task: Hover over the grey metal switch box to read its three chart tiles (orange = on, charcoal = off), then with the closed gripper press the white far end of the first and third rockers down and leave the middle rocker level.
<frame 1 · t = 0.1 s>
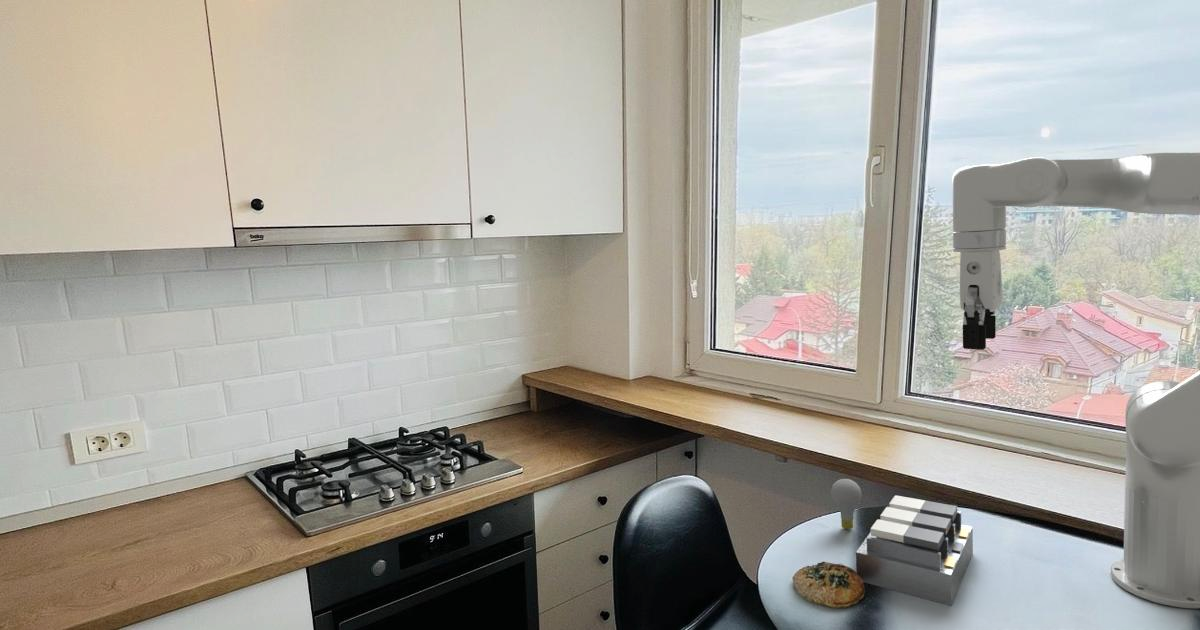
hand: (979, 343, 109), 37 cm above the table, tool pointing down, fingers open, 9 cm apart
rocker b: (915, 520, 108), point 8 cm above the table, hinge at 0.0°
rocker c: (906, 534, 104), point 8 cm above the table, hinge at 0.0°
switch box: (916, 566, 109), on the table
rocker a: (922, 508, 112), point 8 cm above the table, hinge at 0.0°
light bulb: (847, 530, 124), on the table
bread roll: (828, 593, 105), on the table
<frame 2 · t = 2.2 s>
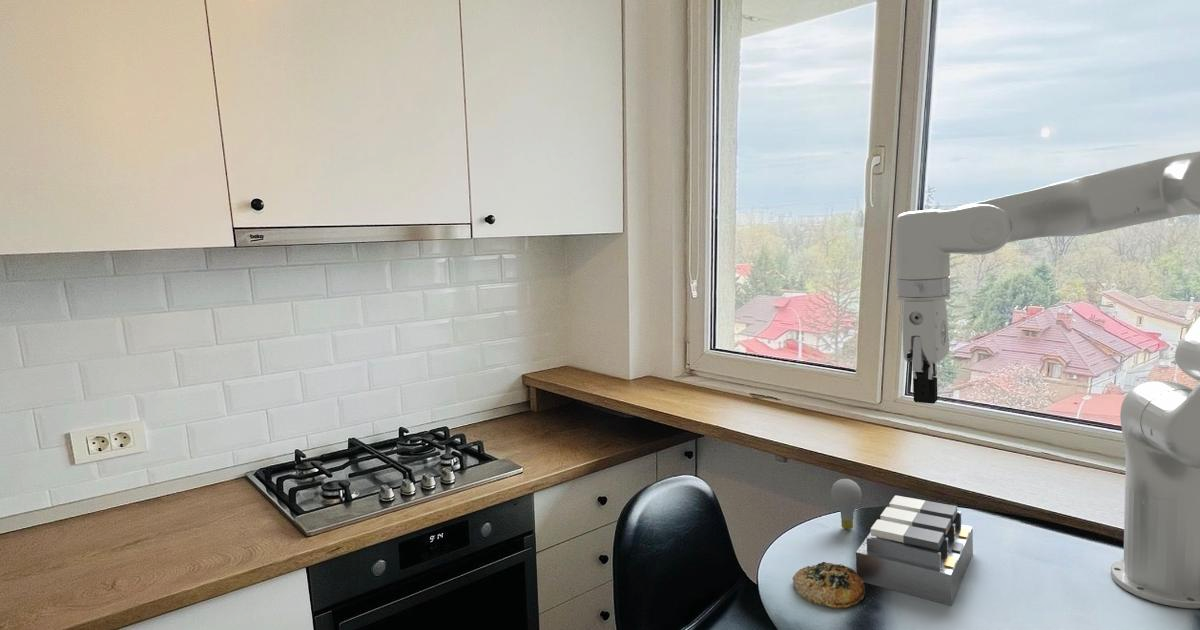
hand: (925, 401, 104), 29 cm above the table, tool pointing down, fingers closed
nothing on the table moved.
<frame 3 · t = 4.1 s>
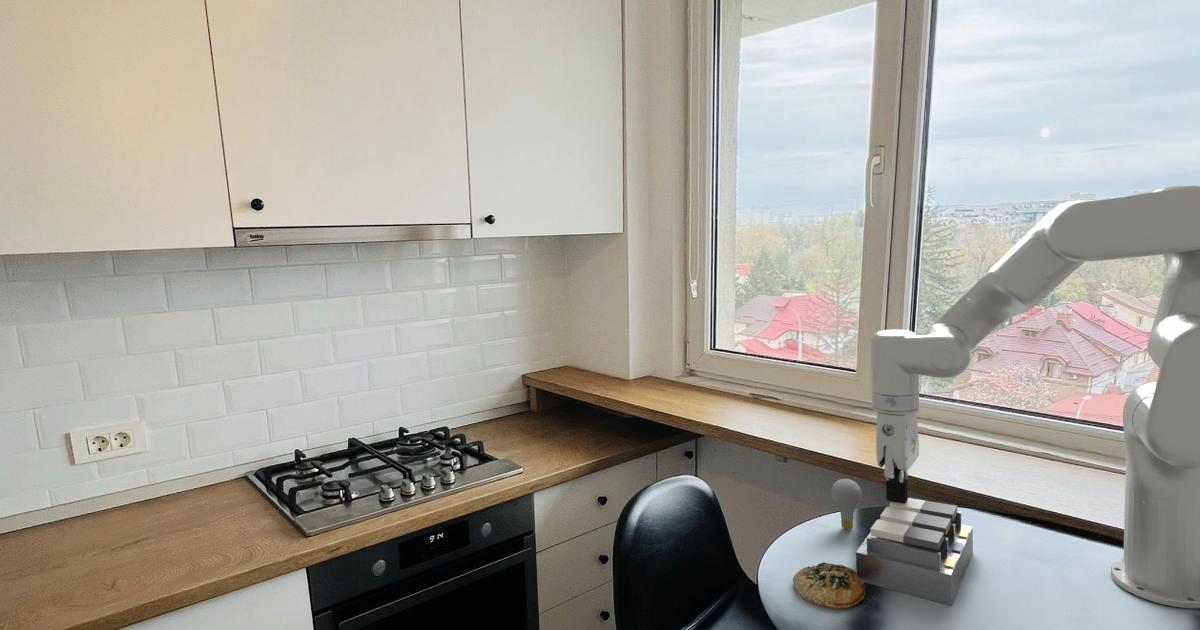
hand: (897, 500, 115), 9 cm above the table, tool pointing down, fingers closed
rocker a: (922, 508, 112), point 8 cm above the table, hinge at 1.1°, touching gripper
everything else where it was.
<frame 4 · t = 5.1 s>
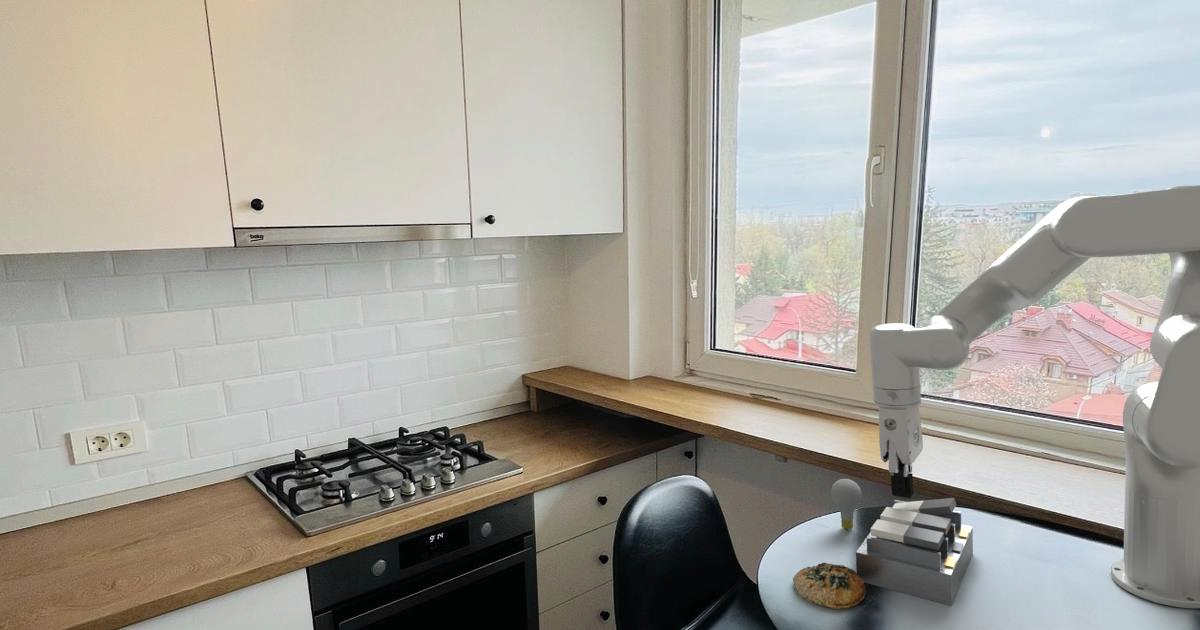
hand: (902, 495, 114), 10 cm above the table, tool pointing down, fingers closed
rocker a: (922, 508, 113), point 8 cm above the table, hinge at 17.3°
everything else where it was.
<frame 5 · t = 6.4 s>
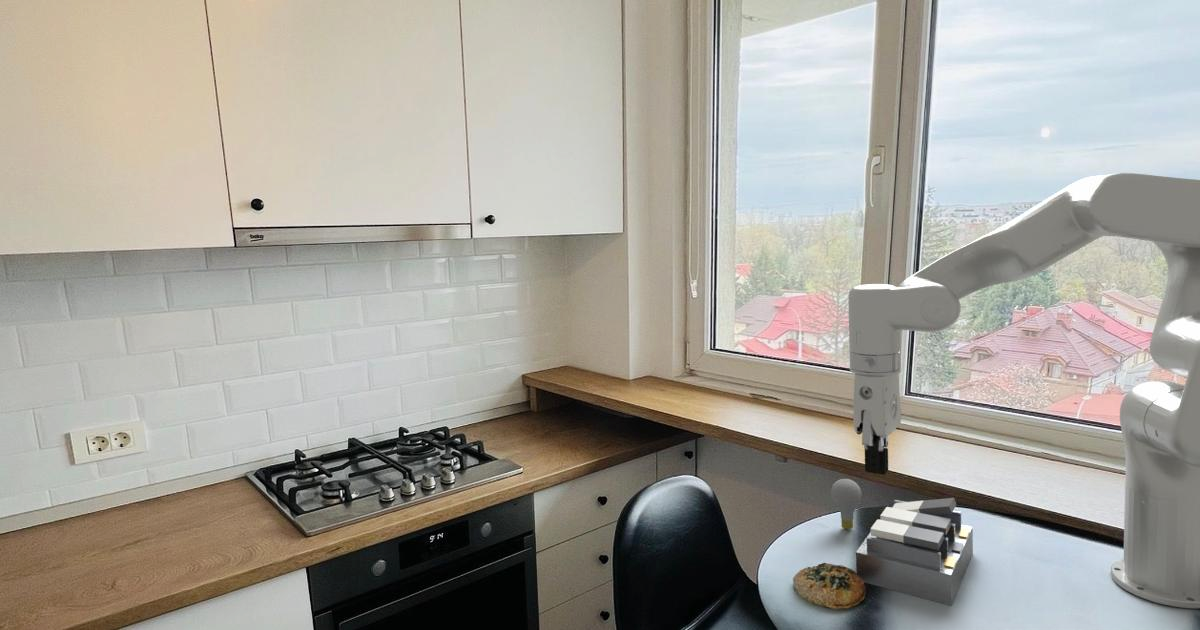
hand: (876, 471, 105), 18 cm above the table, tool pointing down, fingers closed
nothing on the table moved.
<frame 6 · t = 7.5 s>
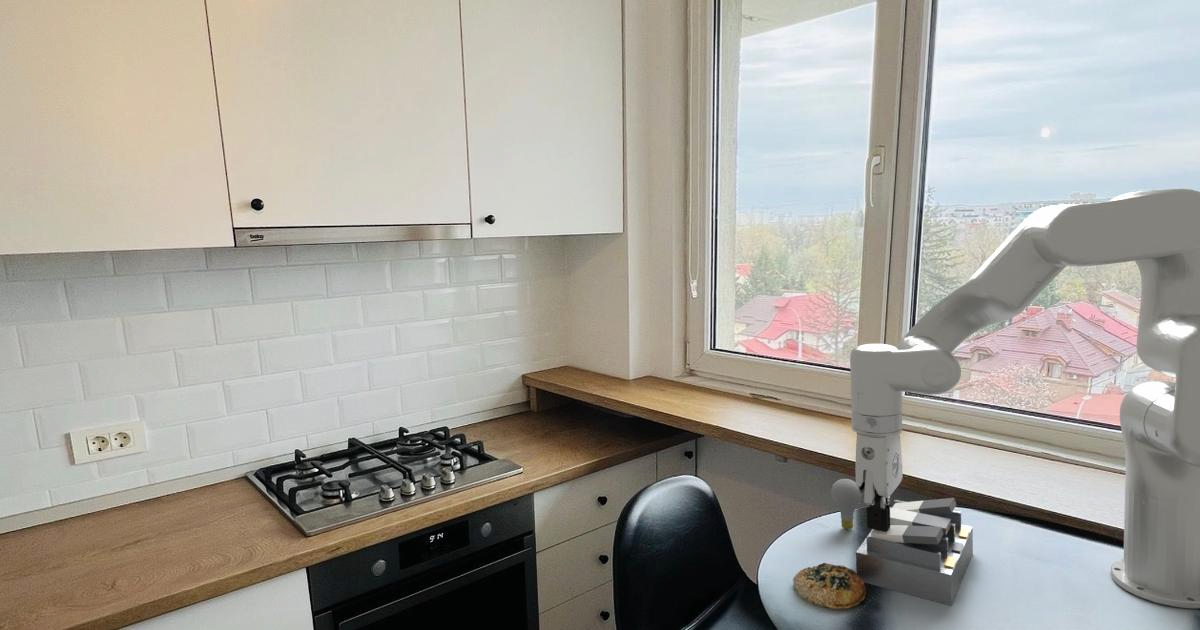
hand: (878, 527, 107), 8 cm above the table, tool pointing down, fingers closed
rocker c: (906, 534, 104), point 8 cm above the table, hinge at 11.0°, touching gripper
everything else where it was.
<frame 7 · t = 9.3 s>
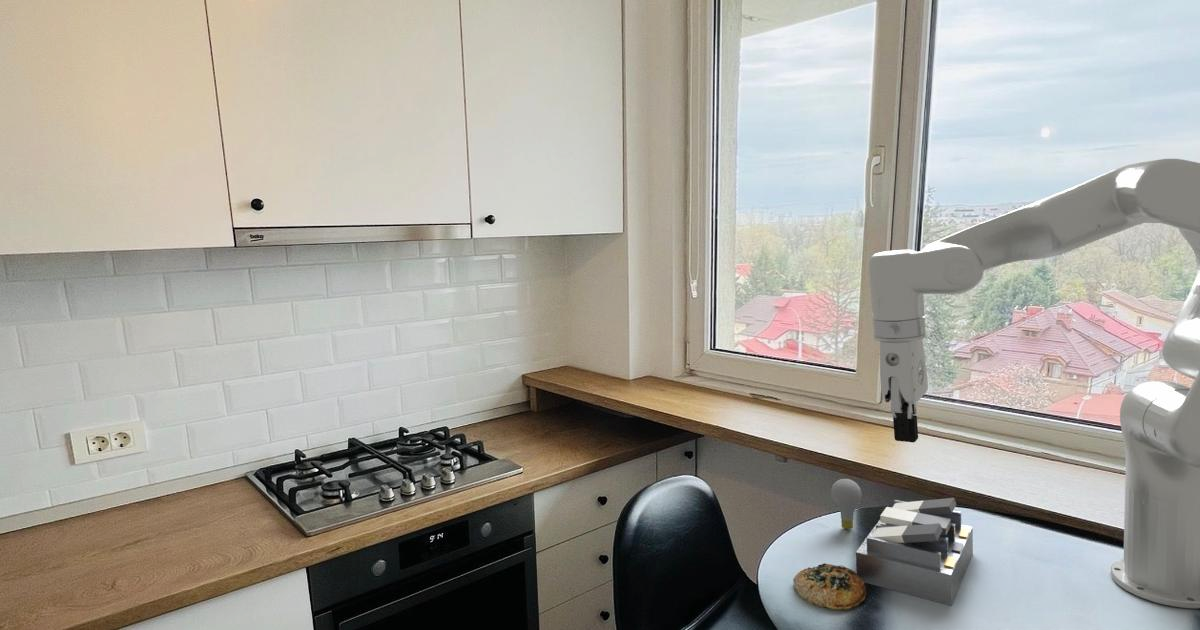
hand: (906, 439, 104), 23 cm above the table, tool pointing down, fingers closed
rocker c: (906, 534, 104), point 8 cm above the table, hinge at 17.4°
everything else where it was.
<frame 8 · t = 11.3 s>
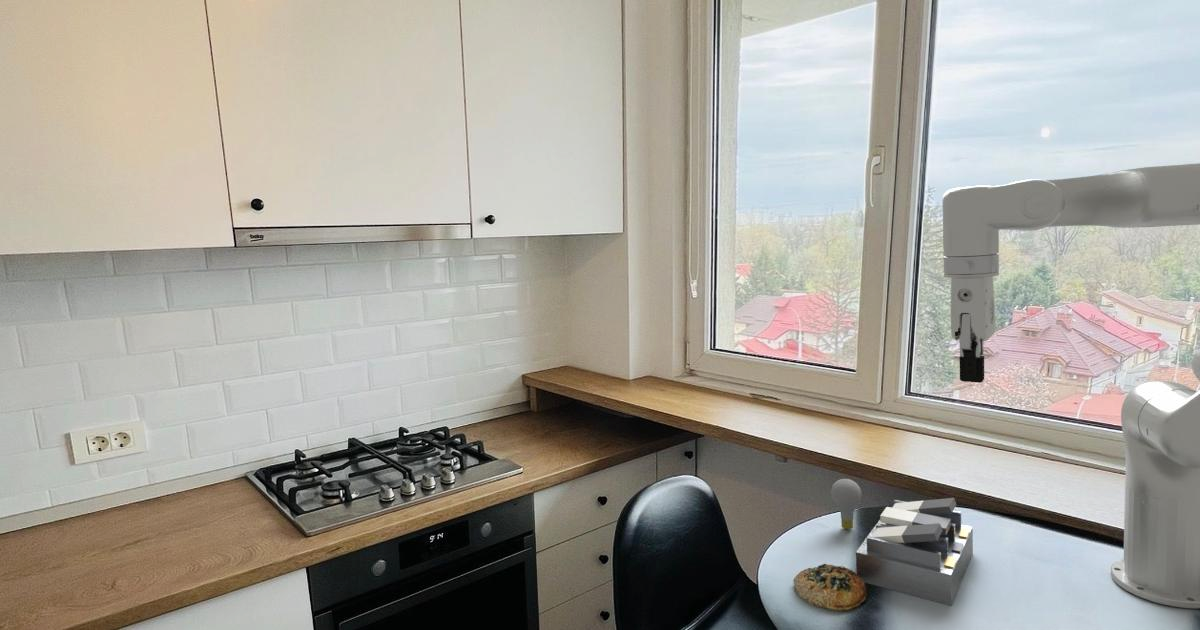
hand: (972, 380, 103), 32 cm above the table, tool pointing down, fingers closed
nothing on the table moved.
at the end: rocker a at +17° (first picture: +0°); rocker c at +17° (first picture: +0°); rocker b at +0° (first picture: +0°) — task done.
